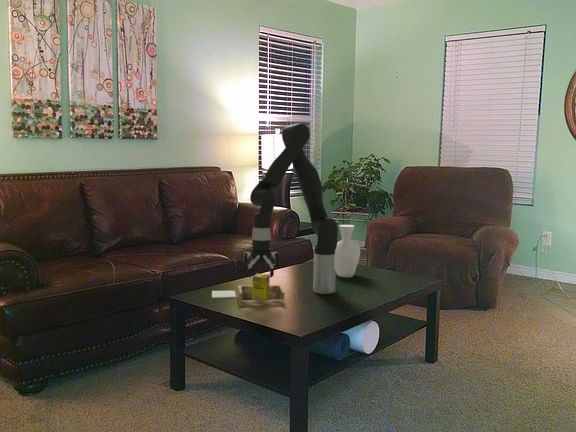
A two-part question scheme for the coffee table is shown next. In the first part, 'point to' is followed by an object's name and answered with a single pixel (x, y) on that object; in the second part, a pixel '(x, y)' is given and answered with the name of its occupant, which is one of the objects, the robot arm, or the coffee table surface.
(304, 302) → the coffee table surface
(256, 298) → the supplement box
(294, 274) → the coffee table surface
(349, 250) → the vase
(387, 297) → the coffee table surface
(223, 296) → the pad
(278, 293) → the crate
